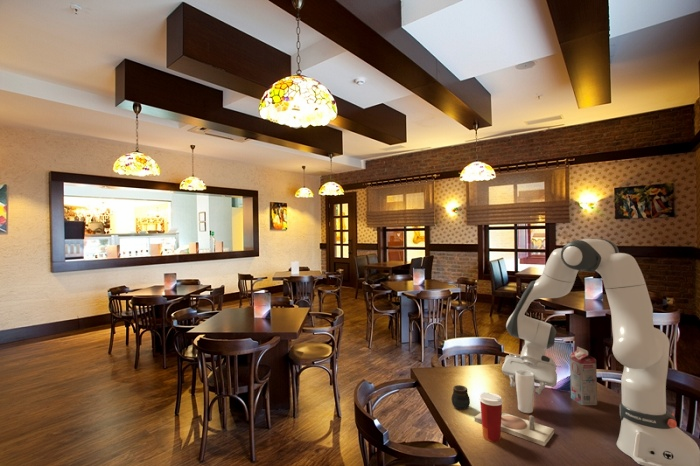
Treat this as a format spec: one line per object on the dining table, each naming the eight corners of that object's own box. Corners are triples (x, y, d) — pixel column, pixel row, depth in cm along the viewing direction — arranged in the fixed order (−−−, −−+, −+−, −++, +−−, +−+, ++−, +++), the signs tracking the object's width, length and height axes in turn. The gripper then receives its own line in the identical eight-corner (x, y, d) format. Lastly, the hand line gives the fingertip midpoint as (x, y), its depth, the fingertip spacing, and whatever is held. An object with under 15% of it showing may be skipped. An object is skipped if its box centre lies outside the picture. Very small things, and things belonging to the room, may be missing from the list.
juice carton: (581, 405, 146) (580, 351, 146) (571, 398, 153) (569, 346, 153) (597, 404, 146) (596, 351, 147) (586, 397, 153) (584, 346, 153)
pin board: (554, 433, 125) (553, 416, 125) (544, 446, 118) (544, 428, 118) (487, 410, 142) (486, 395, 142) (474, 421, 134) (474, 405, 134)
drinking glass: (537, 415, 138) (536, 376, 138) (518, 414, 139) (517, 375, 140) (532, 407, 145) (531, 370, 145) (514, 406, 146) (513, 369, 146)
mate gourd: (472, 406, 146) (471, 381, 147) (467, 413, 140) (466, 388, 140) (454, 401, 150) (454, 378, 150) (449, 409, 144) (448, 384, 144)
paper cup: (507, 437, 123) (506, 396, 123) (498, 446, 118) (497, 403, 118) (485, 428, 129) (484, 389, 129) (475, 437, 123) (474, 396, 124)
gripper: (504, 349, 155) (495, 378, 147) (557, 360, 140) (550, 393, 133) (508, 357, 158) (500, 386, 151) (560, 368, 143) (554, 401, 136)
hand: (524, 389), depth 142 cm, fingers open, 8 cm apart
